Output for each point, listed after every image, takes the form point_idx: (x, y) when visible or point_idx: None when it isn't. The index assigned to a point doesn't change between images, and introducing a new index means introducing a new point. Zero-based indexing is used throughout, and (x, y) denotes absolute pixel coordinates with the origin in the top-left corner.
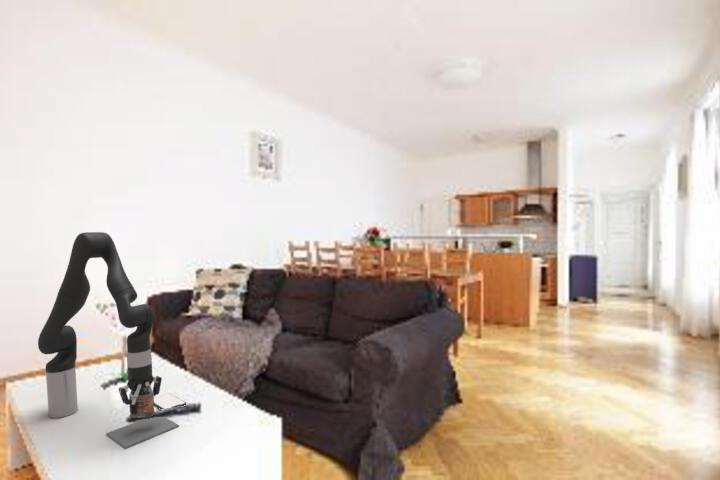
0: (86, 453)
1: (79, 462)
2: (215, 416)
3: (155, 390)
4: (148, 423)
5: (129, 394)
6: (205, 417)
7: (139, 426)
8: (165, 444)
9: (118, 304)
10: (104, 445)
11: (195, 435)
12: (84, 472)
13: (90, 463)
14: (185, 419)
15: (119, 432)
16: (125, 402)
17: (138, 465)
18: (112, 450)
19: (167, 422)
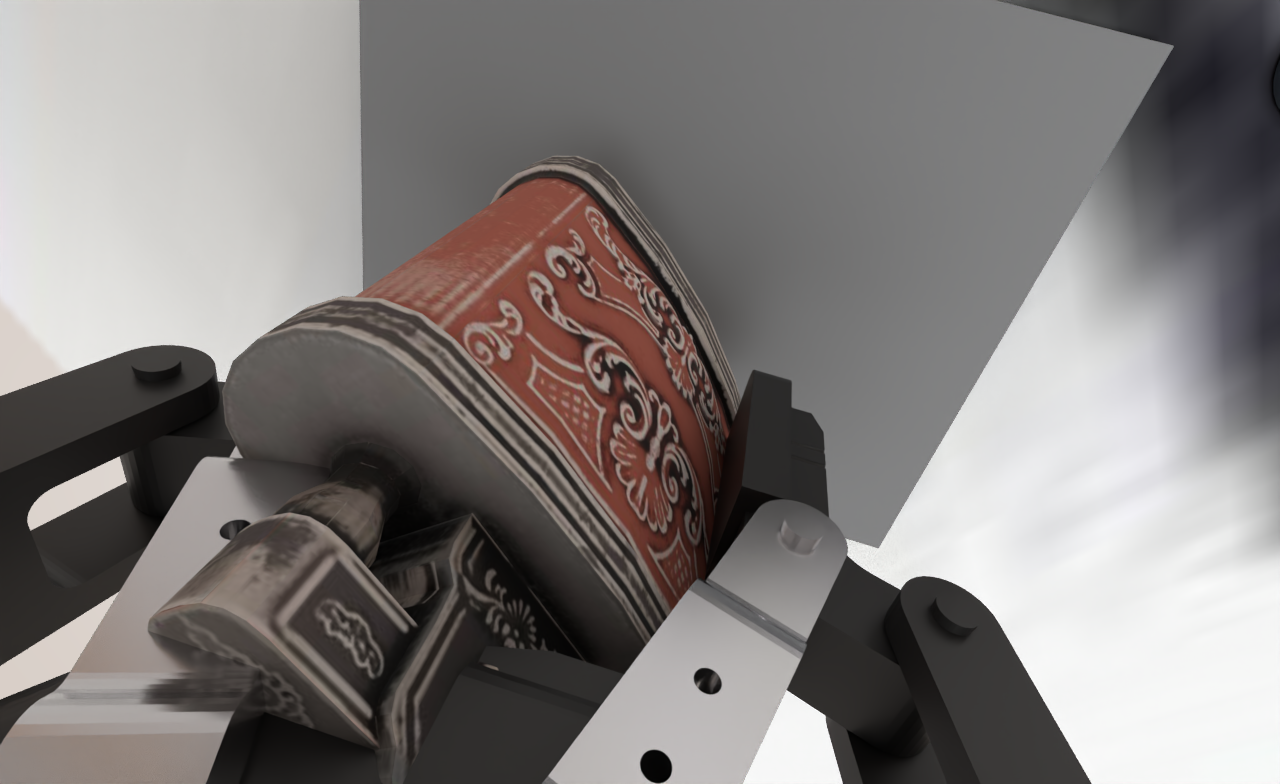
0: (106, 93)
1: (44, 194)
2: (1171, 707)
3: (907, 719)
4: (811, 197)
5: (251, 352)
6: (1136, 643)
7: (700, 152)
8: None
9: None
10: (273, 120)
11: (781, 710)
12: (70, 366)
13: (116, 300)
14: (1058, 498)
15: (475, 30)
16: (116, 514)
17: None
18: (296, 294)
19: (902, 406)
